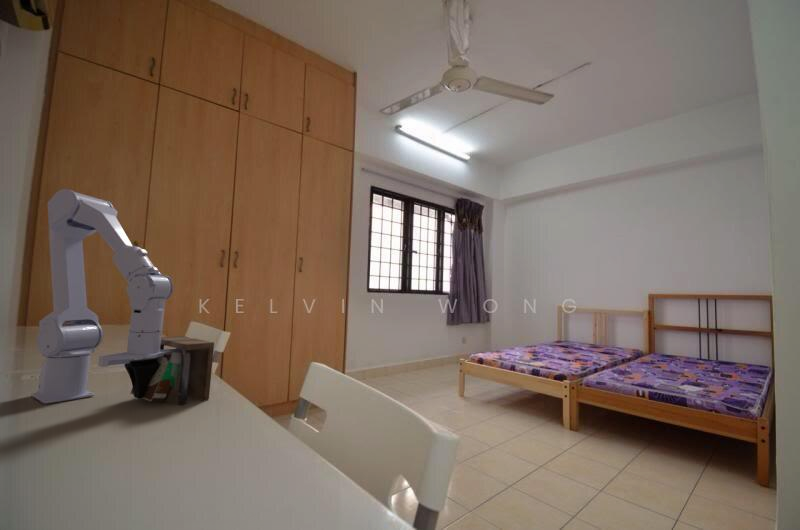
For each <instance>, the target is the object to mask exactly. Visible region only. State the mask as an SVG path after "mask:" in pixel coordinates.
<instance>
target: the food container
mask: <svg viewBox="0 0 800 530" xmlns="http://www.w3.org/2000/svg"><path fill="white" fill-rule="evenodd" d="M160 350H163V349H160ZM182 358H183V354H182V353H181V354H180V353H174V352H173V353H172V355H166V354H164V356H161V357H160V358H158V359H157V362H159V367H158V369H157V370H156V371H155V373H154V374H153V376H152V377H151V379H150V381H149V383H148V385H147V388H146V390H145V393H144V396H143V398H142V399H144V400H145V401H149V402H151V403H152V402H153V403H166V402H167V401H168V399H169V397H170V395H171V393H172V390H173V387H174V384H175V382H176V380H177V378H178V376H179V374H180V372H181V368H182ZM146 359H147V358H146ZM130 395H133V396H134V391H133V386H132V387H131V391H130Z"/></svg>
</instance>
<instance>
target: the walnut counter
mask: <svg viewBox="0 0 800 530" xmlns="http://www.w3.org/2000/svg"><path fill="white" fill-rule="evenodd" d="M165 346H166V347H170V348H173V349H181V350H182V354H183V358H182V368H181V372H180V374H179V376H178V378H177V380H176V382H175V384H174V387H173V389H172V390H173V391H176V392H178V397H177V398H178V399H177V405H178V406H186V405H187V404H188V403H187V402H188V396H190V397H192V396H193V398H195V397H196V399H198V398H199V399H198V400H201V399H202V400H201V401H204V400H206V401H208V400H207V399H209V400H210V391H211V390H210V389H211V380H212V371H213V370H212V368H213V358H214V349H215V341H214V342H213V341H209V340H203V339H198V338H193V337H188V336H184V335H179V336H178V335H177V336H175V335H174V336H164V337H162V336H161V346H160V349H165Z"/></svg>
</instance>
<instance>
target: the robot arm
mask: <svg viewBox="0 0 800 530" xmlns="http://www.w3.org/2000/svg"><path fill="white" fill-rule="evenodd" d="M47 217H48V228H49V231H48V238H49V257H50V272H51V288H52V304H53V305H52V306H53V307H52V308H53V311H51V313H49V314H48V315H46V316H44V317H43V318H42V319H40V320H39V322H38V323H39V326H38V327H39V329H38V333H37V335H36V339H35V345H36V348H37V350H38V351H39V352H40V353H41V356H42V357H45V359H43V360H42V363H41V366H40V370H39V377H38V378H39V379H38V385H37V391H36V392H35V391H34V392H30V396H32V397H33V398H34V399H36V400H38V401H39V402H41V403H42V404H53V403H59V402H64V401H71V400H76V399H77V400H78V399H83V398H89V397H94V396H95V395H94V394H95V393H93V392H91V391H89V390H87V388H88V382H89V381H88V380H89V373H90V372H89V371H90V364H91V355H92V354H94V353H95V350H96V349H97V348H98V347H99V346H101V343H102V342H103V337H104V331H103V328H102V326H101V325H100V323H99V316H98V315H97V314H96V313H95V312H93V311H92V310H91V309H89V308H88V301H87V289H86V287H87V286H86V274H85V273H86V272H85V259H84V247H83V244H84V243H83V240H84V239H85V238H86V237H89V236H92V235H94V234H95V233H96V232H97V233H98V234H99V235H100V236H101V238H102V239H103V240H104V241H105V243H106V244H107V245H108V246H109V247H110V249H111V250H112V251H113V252H114V254H113V257H112V262H113V263H114V265H115V266H116V268H117V270H119V272H120V273H121V275H122V277H123V279H124V280H125V281H126V282H127V284H128V285H127V286H126V287H125V288H126V294H127V297H128V299H129V307H130V309H131V312H130V322H129V327H128V328H129V330H128V338H127V346H126V351H124V352H117V353H110V354H101V355H99V356H98V362H97V366H99V367H102V368H106V367H109V366H116V365H124V368H125V370H126V372H127V374H128V375H129V378H130V381H131V385H132V387H133V391H134V395H133V397H134V398H136V399H143V396H144V393H145V390H146V388H147V385H148V383H149V381H150V379H151V377H152V376H153V374H154V373H155V371H156V370H157V369H158V367H159V362H157V359H158V358H160V357H161V356H164V354H166V355H172V353H173V352H174V353H180V354H181V353H182V350H181V349H176V348H167V349H165V348H164V349H163V350H160V346H161V337H162V334H163V328H164V327H163V326H164V316H165V307H166V300H168V299H169V298H170V297H171V296H172V294H173V292H174V283H173V281H172V280H171V279H172V278H171V277H170V276H168V275H167V274H162V273H161V272H160V271H159V269H158V267H155V265H154V264H153V263H152V261H151V260H150V258H149V257H148V251H147V250H146V249H143V248H141V247H139V246H135V245H133V243H132V242H131V241H130V239H129V237H128V235H127V234H126V232H125V230H124V229H123V227H122V225H121V223H120V222H119V220H118V218H117V217H118V211H117V209H116V208H114V206H113V204H112V203H111V202H110V201H109V200H107V199H101V198H97V197H93V196H90V195H86V194H82V193H80V192H76V191H74V190H71V189H67V188H65V189H60V190H58V191H57V192H56V193H55V194H54V195H53V196H52V197H51V198H50V199H49V200H48V202H47ZM146 358H147V359H146Z"/></svg>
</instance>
